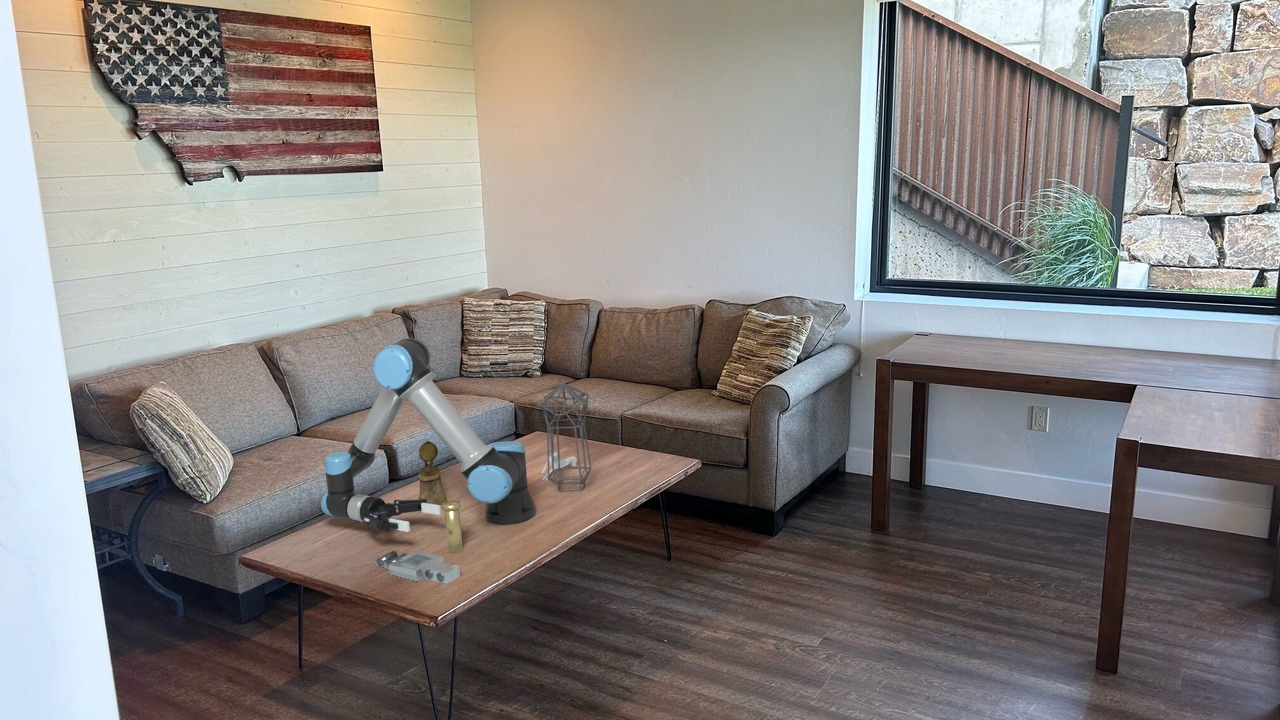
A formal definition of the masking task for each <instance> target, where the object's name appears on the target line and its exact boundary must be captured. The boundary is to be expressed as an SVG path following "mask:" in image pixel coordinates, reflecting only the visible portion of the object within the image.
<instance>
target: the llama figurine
mask: <svg viewBox="0 0 1280 720" xmlns="http://www.w3.org/2000/svg"><path fill="white" fill-rule="evenodd" d="M577 463H578V457H576V456H569V457H567V458H565V459H564V458H563V457H562V456H560V468H566V466H568V465H569V464H570V465H571V466H572V467H577ZM550 465H552V458H551V456H550V455H549V466H550ZM558 468H559V466H558V452H554V469H558ZM557 471H558V470H556V471H555V472H557ZM551 472H552V467H550V469H549V476H550V474H551ZM540 475H541V476H543V477H542V481H548V460H547V461H546V462H545V466H544V467H543V468H542V470H541V471H540ZM552 475H553V473H552Z"/></svg>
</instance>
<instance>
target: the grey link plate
mask: <svg viewBox="0 0 1280 720" xmlns="http://www.w3.org/2000/svg"><path fill="white" fill-rule="evenodd" d="M374 562H375V566H376V567H378V566H379V567H378V568H382V567H384V568H383V569H386V568H387V569H386V570H388V571H389V576H392V575H395V576H394V577H396V576H399V577H398V578H400V577H402V578H401V579H404V578H406V579H405V580H407V579H410V580H409V581H411V580H414V581H413V582H415V581H418V582H420V581H422V580H424V579H425V578H426V580H428V581H429V580H430V581H432V582H433V581H434V582H437V583H442V584H446V585H448V584H450V583H451V582H453V581H455V580H457V579H458V578H460V577H461V570H460V565H458V564H454V563H453V564H452V563H449V562H445V561H444V556H441V555H437V554H434V553H429V552H423V551H419V550H415V551H412V552H410V553H409V554H407V553H405V552H404V553H402V554H400V555H399V554H398V553H397V551H396V550H392V551H390V552H388V553H386V554H384V555H382V556H380V557H378V558H376V560H375V561H374ZM415 565H416V566H415ZM423 578H424V579H423ZM421 579H422V580H421ZM419 580H420V581H419Z"/></svg>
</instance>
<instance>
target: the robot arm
mask: <svg viewBox="0 0 1280 720" xmlns="http://www.w3.org/2000/svg"><path fill="white" fill-rule="evenodd" d="M372 363H373V364H372V373H373V376H374V378H375V381H376V382H377V383H378V385H380V386H381V387H382V388H381V390H380V392H379V394H378V396H377V398H376V400H375V401H374V403H373V405H371V406H372V407H371V408H370V411H369V412H368V414H367V416H366V417H365V419H364V421H363V423H362V425H361V427H360V428H359V430H358V432H357V434H356V436H355V438H354V440H353V441H352V443H351V445H350V446H349V448H348V450H347V451H335V452H332V453H329V454H327V455H325V458H324V471H325V478H326V479H325V480H326V488H327V491H326V492H325V493H324V495H323V496H322V498H321V502H320V506H321V510H322V512H323V513H324V514H325V515H327V516H330V517H334V518H337V519H338V518H339V519H346V520H347V519H348V520H353V521H359V522H360V523H363V522H364V524H366V525H370V526H371V527H372V528H373V529H375V530H376V531H378V532H383V530H384V532H385V533H388V532H390V530H395V531H401V532H405V533H408V532H411V527H410V521H407V520H402V519H401V520H400V519H394V518H392V517H395V516H401V515H402V514H407V513H415V512H421V513H423V514H431V515H437V516H441V515H442V505H441V504H440V505H435V504H428V503H427V500H426V499H421V500H419V499H395V500H393V503H391V502H389V503H388V502H385V500H384V499H383V498H381V497H378V496H369V495H366V494H365V495H364V494H359V493H358V494H357V493H356V492H355V483H354V479H355V478H356V477H357V476H358V475H359V474H361V473H362V472H364V471H365V470H367V469H368V468H370V467H371V465H372V464H373V463H374V461H375V458H376V453H377V450H378V449H379V447H380V446H381V444H382V442H383V440H384V438H385V437H386V434H387V433H388V431H389V429H390V427H391V426H392V424H393V422H394V420H395V419H396V417H397V415H398V414H399V412H400V410H401V408H402V406H403V404H404V403H405V401H406V400H408V401H409V402H410V404H411V405H412V406H413V408H414V409H415V410H416V411H417V412H418V413H419V414H420V416H421V417H422V418H423V420H424V421H425V422H426V423H427V424H428V425H429V427H430V428H431V429H432V430H433V432H434V433H435V434H436V435H437V436H438V438H439V439H440V440H441V441H442V443H443V444H445V446H446V447H447V448H448V449H449V451H450V452H451V453H452V455H453V456H454V457H455V459H457V460H458V462H459V463H460V466H461V467H460V472H461V474H462V475H463V477H464V478H465V479H466V480H467V489H468V491H469V494H470V495H471V496H472V497H473V498H474V499H475V500H476V501H479V502H481V503H484V504H486V506H485V509H484V511H485V519H486V521H487V522H490V523H493V524H498V525H511V524H512V525H513V524H517V523H522V522H525V521H529V520H530V519H532V518H533V517H534V516H535V515H536V506H535V503H534V501H533V497H532V496H531V494H530V491H529V489H528V475H527V462H526V461H527V460H526V450H525V445H524V444H523V443H522V442H521V441H515V440H514V441H513V440H511V441H509V440H508V441H497V442H491V443H488V444H485V443H484V441H482V439H481V438H480V437H479V436H478V434H477V433H476V432H475V431H474V430H473V429H472V427H471V426H470V425H469V423H467V421H466V420H465V419H464V417H462V415H461V414H460V413H459V412H458V410H457V409H456V408H455V407H454V406H453V404H452V402H450V401H449V399H448V398H447V397H446V396H445V395H444V393H443V392H442V391H441V390H440V388H438V386H437V385H436V383H435V382H434V380H433V372H432V370H431V369H430V368H429V366H430V363H431V353H430V351H429V348H428V347H427V346H426V344H424V342H422V341H421V340H418V339H416V338H404V339H401V340H399V341H397V342H396V343H395V342H394V343H393V344H391V345H388V346H386V347H385V348H383V349H382V350H381V351H379V352H378V353H377V355H376V356H375V357H374V360H373V362H372Z"/></svg>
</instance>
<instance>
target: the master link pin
mask: <svg viewBox="0 0 1280 720" xmlns="http://www.w3.org/2000/svg"><path fill="white" fill-rule="evenodd" d="M460 508H461V501H460V500H457V499H450V500H447V501H445V502H443V503H442V504H441V510H443V511H444V520H445V521H444V522H445V530H446V531H445V532H446V540H447V541H446V542H447V551H448V553H449V554H458V553H461V552H463V550H464V549H463V538H462V526H461V518H460Z"/></svg>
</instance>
